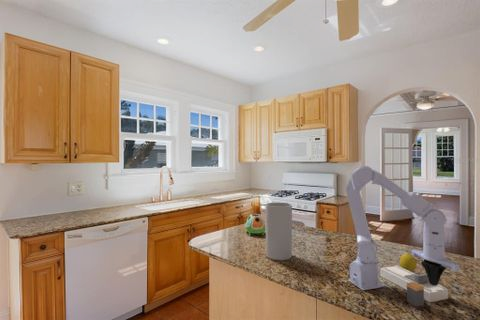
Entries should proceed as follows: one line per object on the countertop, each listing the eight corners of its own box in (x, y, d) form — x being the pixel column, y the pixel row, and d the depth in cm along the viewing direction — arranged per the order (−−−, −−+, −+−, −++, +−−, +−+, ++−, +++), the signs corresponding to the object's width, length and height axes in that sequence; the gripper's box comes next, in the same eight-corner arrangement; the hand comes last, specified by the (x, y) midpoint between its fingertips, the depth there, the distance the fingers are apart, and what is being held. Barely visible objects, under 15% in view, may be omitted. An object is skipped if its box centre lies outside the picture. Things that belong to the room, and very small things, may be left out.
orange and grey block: (416, 306, 81) (416, 287, 81) (406, 301, 84) (406, 283, 84) (423, 305, 82) (423, 286, 82) (414, 299, 85) (414, 281, 85)
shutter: (428, 282, 90) (428, 274, 90) (417, 283, 89) (417, 276, 89) (414, 275, 95) (414, 268, 95) (404, 277, 94) (404, 270, 94)
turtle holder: (259, 228, 175) (259, 211, 175) (267, 236, 157) (267, 216, 157) (242, 229, 172) (241, 211, 172) (248, 237, 154) (248, 217, 154)
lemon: (400, 268, 109) (400, 250, 109) (416, 272, 105) (416, 253, 105) (398, 273, 105) (398, 253, 105) (415, 277, 101) (415, 257, 101)
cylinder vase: (260, 256, 123) (260, 204, 124) (275, 249, 133) (275, 201, 133) (282, 263, 115) (282, 207, 115) (296, 255, 124) (296, 204, 124)
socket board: (447, 298, 85) (447, 287, 85) (429, 302, 83) (429, 290, 83) (396, 273, 105) (396, 264, 105) (380, 275, 102) (380, 266, 102)
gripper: (466, 249, 80) (466, 293, 80) (422, 236, 94) (422, 273, 94) (450, 252, 78) (450, 296, 78) (407, 238, 92) (407, 275, 92)
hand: (433, 284), depth 86 cm, fingers closed
